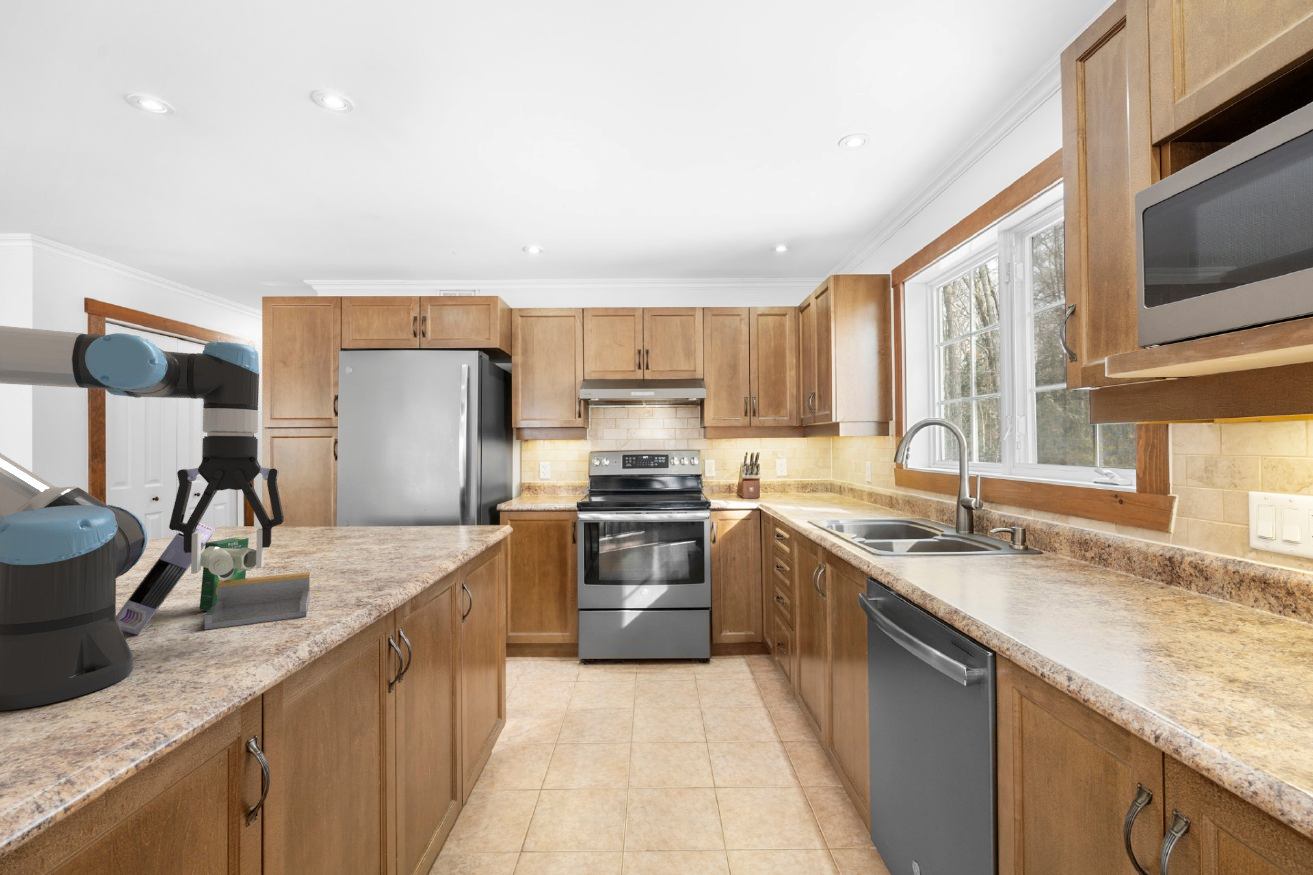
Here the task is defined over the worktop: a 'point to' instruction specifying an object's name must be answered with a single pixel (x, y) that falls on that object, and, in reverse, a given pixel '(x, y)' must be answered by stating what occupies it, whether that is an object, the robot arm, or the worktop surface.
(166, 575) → the cake pan box
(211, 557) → the pipe fitting
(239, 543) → the coffee box
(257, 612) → the grey tray
